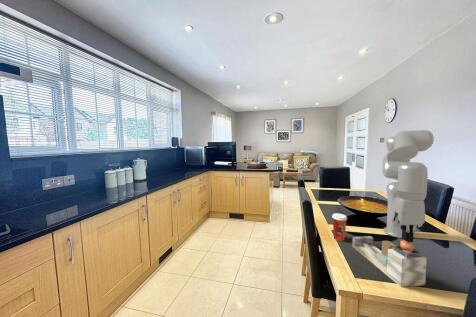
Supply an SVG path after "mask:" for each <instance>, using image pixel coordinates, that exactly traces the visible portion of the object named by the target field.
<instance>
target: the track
mask: <svg viewBox="0 0 476 317" xmlns="http://www.w3.org/2000/svg"><path fill="white" fill-rule="evenodd" d="M351 245H352V246H351V247H352V248H353V249H354V250H356V251H357V252H358V253H359V254H360V255H362V256H363V257H364V258H365V259H367V260H368V261H369V262H370V263H371V264H372V265H374V266H375V267H376V268H378V270H380V271H381V272H383V274H384V275H385V276H387V277H388V278H389V279H391V280H392V281H393V282H394V283H395V284H397V285H398V286H399V287H400V288H403V287H417V286H425V285H426V277H427V259H428V257H427V256H426V255H423V253H422V252H420V251H418V250H417V249H415V248H414V251H412V252H410V251H406V250H403V249H401V248H400V244H399V245H398V244H397V245H396V244H395V246H393V249H388V259H387V266H385V265H384V264H383V263H382V262H380V261H379V260H378V257H377V256H376V255H377V253H382V249H381V250H380V249H379V248H378V247H376V246H375V245H374V237H373V236H371V235H368V236H367V235H364V236H352V244H351Z"/></svg>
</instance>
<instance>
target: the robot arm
mask: <svg viewBox="0 0 476 317" xmlns="http://www.w3.org/2000/svg"><path fill="white" fill-rule="evenodd" d="M434 138H435V137H434V135H433V133H432V132H431V131H430V130H428V129H427V130H426V129H416V130H403V131H399V132H397V133H395V134H394V136H390V137H388V138H387V139H386V141H385V144H386V149H387V151H388V152H387V153H386V154H385V155H384V157H383V159H382V174H383V176H384V177H385V178H387V179H392V180H395V181H392V182H389V183H387V185H386V195H387V215H386V216H387V217H386V226H385V227H384V228H383V233H385V234H388V235H389V236H391V237H395V238H400V239H402V240H405V241H407V242H411V243H413V242H414V233H416V230H417V229H418V228H421V227H422V226H423V224H425V220H426V206H425V199H427V191H428V177H429V176H428V175H429V174H428V167H427V166H426V165H425V164H424V163H422V162H413V161H412V162H411V159H414V158H415V157H417V155H419V152H425V151H428V149H430V148H431V147H432V146H433V144H434Z"/></svg>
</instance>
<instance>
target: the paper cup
mask: <svg viewBox="0 0 476 317" xmlns="http://www.w3.org/2000/svg"><path fill="white" fill-rule="evenodd" d="M331 217H332V225H333V226H332V227H333V228H332V232H333V234H332V235H333V238H334V240H335V241H338V242H344V241H345V239H346V231H347V230H346V228H347V220H348V217H347V216H346V215H345V214H342V213H336V212H335V213H333V214H332V216H331Z"/></svg>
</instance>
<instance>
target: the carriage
mask: <svg viewBox="0 0 476 317" xmlns="http://www.w3.org/2000/svg"><path fill="white" fill-rule="evenodd" d="M395 245H396V244H394V243H393V242H392V241H390V240H382V241H381V251H382V253H377V255H376V256H377V257H378V260H379V261H380V262H382V263H383V264H384V265H385V266H387V259H388V249H393V246H395Z"/></svg>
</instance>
